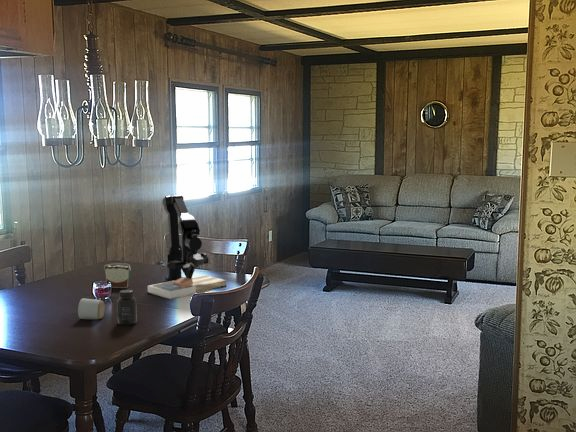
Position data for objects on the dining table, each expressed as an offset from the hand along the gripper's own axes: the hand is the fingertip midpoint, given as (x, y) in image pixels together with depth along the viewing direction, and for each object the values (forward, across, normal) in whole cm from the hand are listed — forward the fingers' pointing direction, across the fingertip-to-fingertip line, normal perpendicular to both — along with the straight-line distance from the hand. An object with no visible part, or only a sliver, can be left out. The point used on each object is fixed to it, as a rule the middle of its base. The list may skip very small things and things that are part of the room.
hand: (189, 281), depth 286 cm
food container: (+3, -18, +27) cm, 33 cm away
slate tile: (+3, -10, 0) cm, 10 cm away
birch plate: (+4, +7, 0) cm, 7 cm away
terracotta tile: (+1, -4, 0) cm, 4 cm away
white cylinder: (+3, -53, -8) cm, 54 cm away
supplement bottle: (+3, -48, -24) cm, 53 cm away
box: (+3, -10, 0) cm, 10 cm away
